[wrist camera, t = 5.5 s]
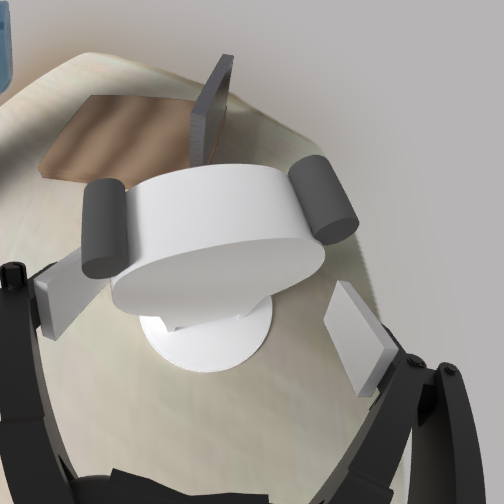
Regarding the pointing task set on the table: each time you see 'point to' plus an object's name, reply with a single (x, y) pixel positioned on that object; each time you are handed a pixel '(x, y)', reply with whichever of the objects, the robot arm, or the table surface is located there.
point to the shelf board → (123, 140)
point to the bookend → (209, 112)
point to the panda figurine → (211, 251)
